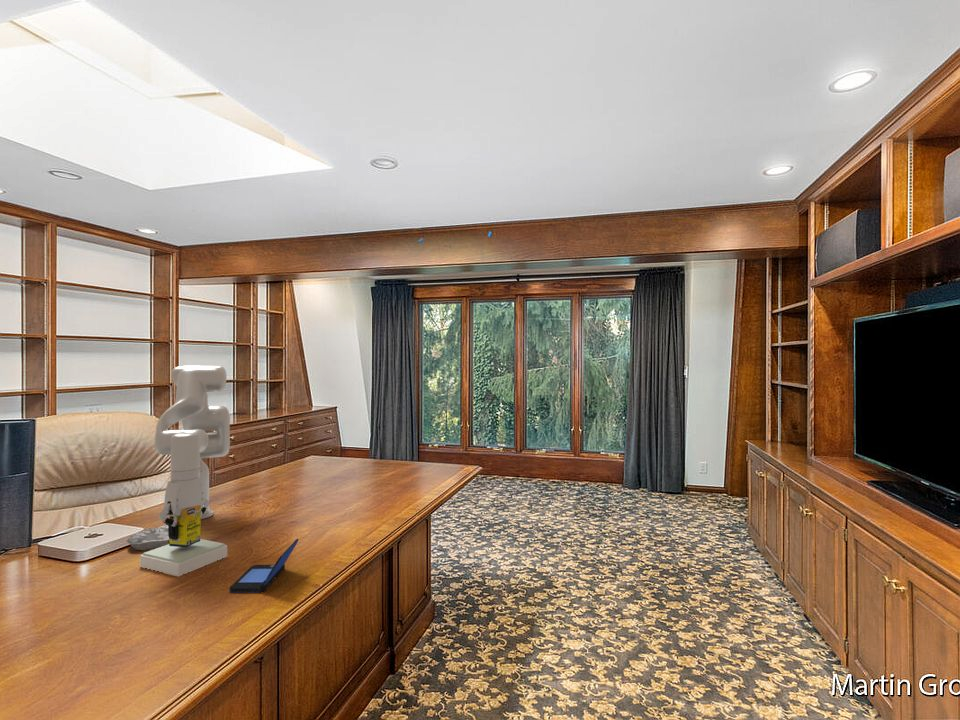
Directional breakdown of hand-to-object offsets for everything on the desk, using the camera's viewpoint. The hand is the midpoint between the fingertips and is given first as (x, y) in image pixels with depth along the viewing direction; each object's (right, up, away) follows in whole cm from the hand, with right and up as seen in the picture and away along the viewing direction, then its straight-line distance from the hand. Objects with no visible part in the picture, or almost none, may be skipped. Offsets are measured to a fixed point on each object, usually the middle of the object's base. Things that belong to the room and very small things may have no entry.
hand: (185, 534), depth 153 cm
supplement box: (0, -3, 0) cm, 3 cm away
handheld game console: (+29, -9, -13) cm, 33 cm away
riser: (0, -8, 0) cm, 8 cm away
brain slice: (-17, -8, +17) cm, 26 cm away
